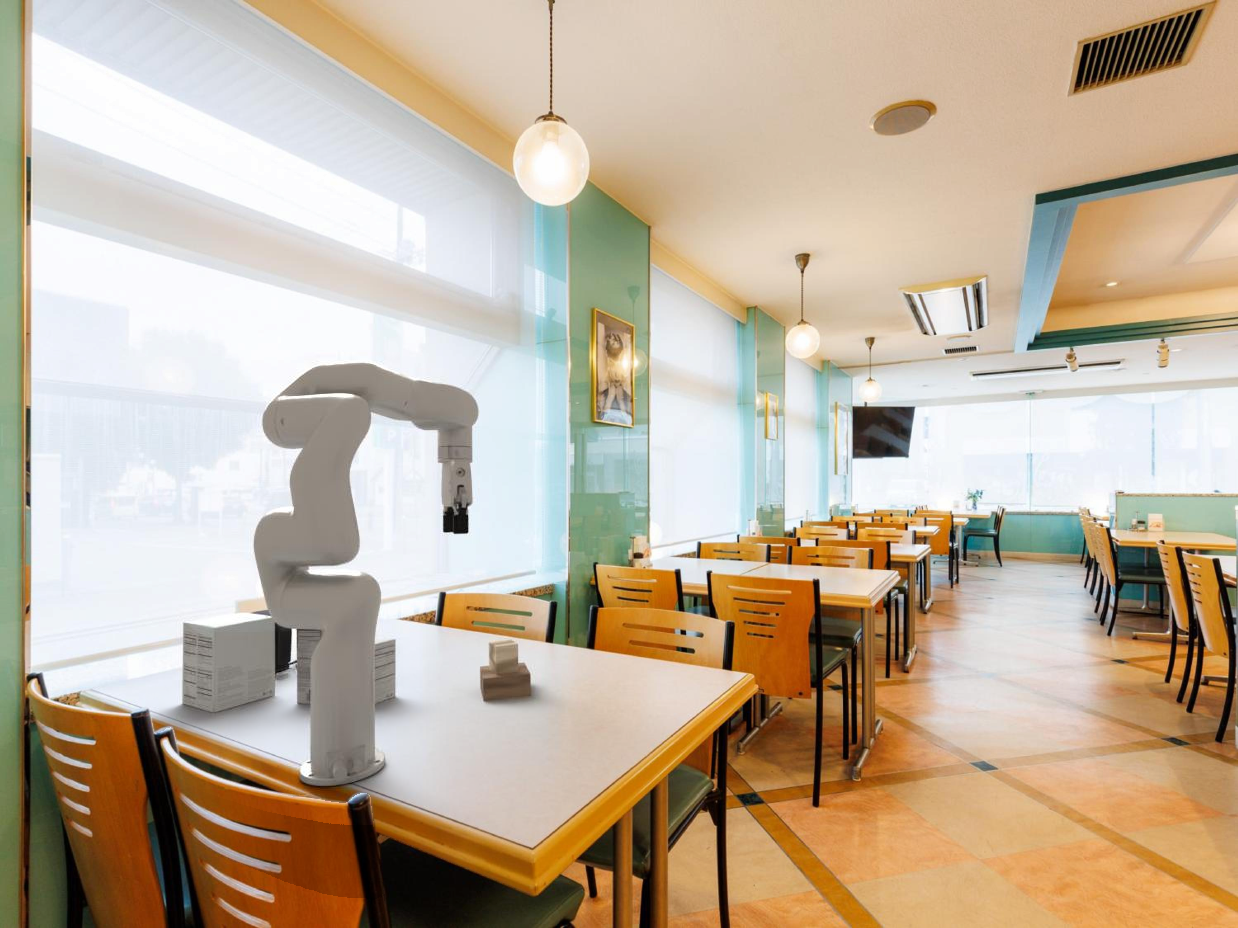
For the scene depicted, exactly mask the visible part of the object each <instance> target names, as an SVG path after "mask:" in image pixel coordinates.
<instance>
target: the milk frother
mask: <svg viewBox="0 0 1238 928" xmlns="http://www.w3.org/2000/svg"><path fill="white" fill-rule="evenodd" d="M250 613H251V614H259V615H266V616H270V614H269V611H268V609H264V610H263V609H262V610H259V611H251V612H250ZM292 640H293V629H291V628H285V627H282V626H280V625H278V624H277V623H276V622H275V673H276V672H280V671H284V670H287V669H289V668H290V666H292V665H295V664H297V659H296V660H294V661H292V645H293V641H292ZM291 661H292V662H291Z"/></svg>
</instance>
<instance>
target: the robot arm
mask: <svg viewBox="0 0 1238 928" xmlns="http://www.w3.org/2000/svg"><path fill="white" fill-rule="evenodd" d="M479 413H480V411H479V406H478V402H477V401H476V399H475V397H474V396H473V395H472V394H471V393H470V392H468V391H466V390H464V389H462V388H460V387H457V386H455V385H451V384H446V383H442V382H441V383H440V382H435V381H429V380H426V379H425V380H424V379H422V378H421V379H420V378H416V377H415V378H414V377H409V376H406V375H403V374H402V373H399V372H397V371H394V370H392V369H389V368H388V367H385V366H383V365H381V364H378V363H376V362H374V361H370V360H364V359H363V360H362V359H357V360H356V359H355V360H345V361H332V362H331V361H329V362H322V363H318V364H316V365H314V366H312V367H310V368H308V369H306V370H305V371H304V372H302V373H301V374H299V376H297V378H295V379H293V380H292V381H291V382H290V383H289V384H288V385H286V387H285V388H283V389H282V390H281V391H280V392H279V393H278V394H276V395H275V396H274V397H273V398H272V399H271V400H270V401H269V402H268V404H267V405H266V407H265V409H264V411H263V414H262V419H261V420H262V422H261V423H262V424H261V425H262V429H263V430H262V431H263V433H264V435H265V437H266V438H267V439H268V440H269V441H270V442H271V443H272V444H273V445H275V446H277V447H279V448H282V449H291V450H296V449H297V450H298V449H301V450H300V452H299V453H298V456H297V457H296V459H295V461H294V463H293V465H292V467H291V470H290V475H289V489H290V496H291V502H292V506H285V507H279V508H275V509H272V510H270V511H268V512H267V513H265V514H264V515H263V516H262V517H261V519H260V520H259V521H258V523H257V526H256V528H255V531H254V535H253V553H254V558H255V563H256V568H257V571H258V576H259V579H260V585H261V588H262V593H263V597H264V601H265V605H266V608H267V609H266V610H268V611H269V614H270V616H271V617H272V619H273V620H274V621H275V622H276V623H277V624H278V625H280V626H282V627H285V628H291V629H292V630H296V629H315V630H324V634H323V636H322V638H321V640H320V642H319V643H318V645H317V646H316V648H315V650H314V652H313V654H312V658H311V664H310V704H309V705H310V716H309V717H310V718H309V719H310V727H309V728H310V734H309V735H310V741H309V742H310V748H309V749H310V752H309V753H310V754H309V755H310V758H309V759H308V760H306V761H305V762H304V763H302V765H301V766H300V768H299V769H298V771H299V772H298V773H299V780H300V781H301V782H303V783H305V784H307V785H310V786H318V787H333V786H339V785H341V786H342V785H346V784H350V783H354V782H357V781H361V780H363V779H366V778H369V777H370V776H373V775H375V774H376V773H377V772H379V771H380V770H381V769H382V768H383V767H384V766H385V764H386V754H385V752H384V751H382V750H381V749H379V748H376V714H375V713H376V704H375V637H376V635H377V634H376V633H377V624H378V618H379V613H380V610H381V609H380V608H381V604H382V603H381V602H382V591H381V588H380V587H381V586H380V584H379V582H378V581H377V580H376V578H374V577H373V576H372V575H370V574H369V573H367V572H364V571H360V570H352V569H310V567H311V568H312V567H313V568H319V567H320V568H322V567H324V568H325V567H339V566H342V565H346V564H348V563H350V562H352V561H353V560H354V559H355V558H356V557H357V556H358V554H359V551H360V547H361V545H360V543H361V539H360V530H359V525H358V521H357V519H358V518H357V513H356V510H355V509H356V508H355V503H354V499H353V494H352V487H351V481H350V479H351V478H350V473H351V467H352V463H353V461H354V458H355V455H356V453H357V451H358V449H359V448H360V446H361V444H362V443H363V441H364V439H365V438H366V436H367V434H368V433H369V430H370V428H371V425H372V423H371V422H372V414H376V415H379V416H380V417H381V416H382V417H385V418H388V419H392V420H395V421H405V422H411V423H412V424H413V425H414V426H415V427H416V428H417V429H419V430H422V431H437V463H439V464H441V484H440V486H441V491H440V492H441V494H440V495H441V503H442V505H443V509H442V510H443V511H442V532H443V533H444V534H445V533H453V535H467V534H469V532H470V531H469V528H470V527H469V507H470V506H472V505H473V503H474V502H473V498H474V497H473V481H472V479H473V478H472V469H471V463H473V426H474V425H475V424H476V422H477V421H478V418H479Z"/></svg>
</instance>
